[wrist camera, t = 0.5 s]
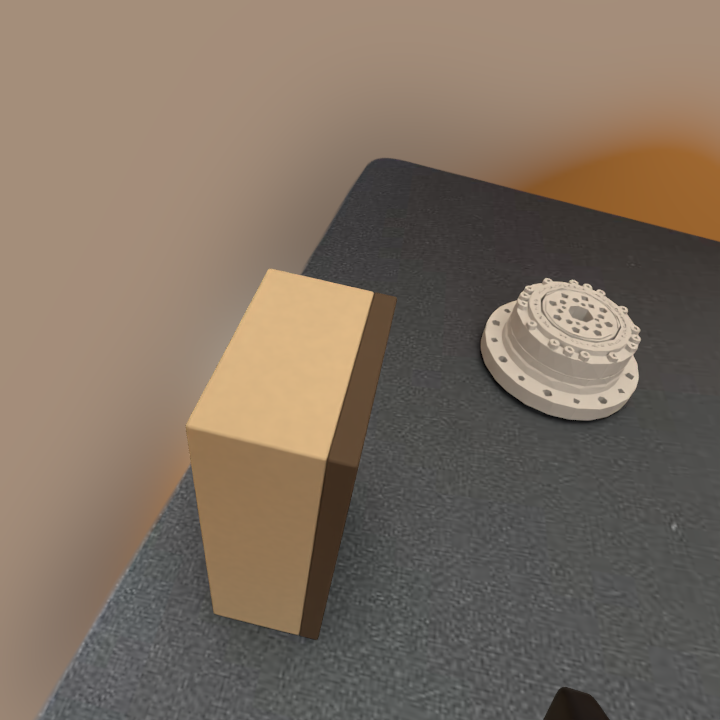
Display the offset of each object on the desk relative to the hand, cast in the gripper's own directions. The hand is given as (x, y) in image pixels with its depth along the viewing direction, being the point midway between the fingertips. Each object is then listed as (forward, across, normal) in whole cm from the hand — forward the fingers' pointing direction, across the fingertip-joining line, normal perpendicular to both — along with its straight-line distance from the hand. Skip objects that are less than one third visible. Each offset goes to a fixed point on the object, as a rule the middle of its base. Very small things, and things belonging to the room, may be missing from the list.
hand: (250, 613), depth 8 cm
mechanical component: (+30, -11, +4) cm, 32 cm away
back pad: (+14, +2, +11) cm, 18 cm away
